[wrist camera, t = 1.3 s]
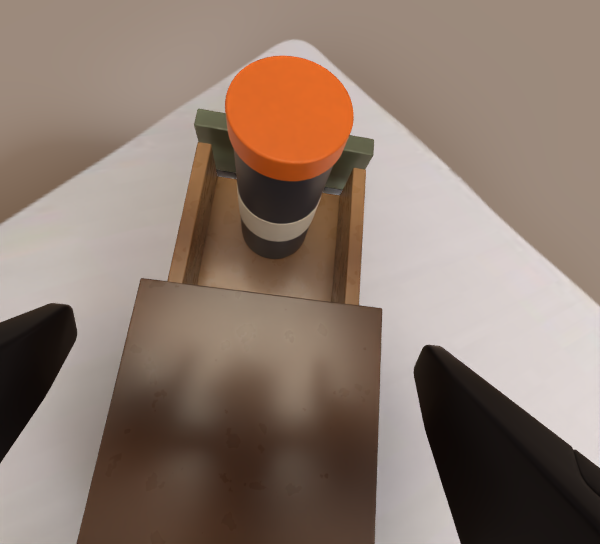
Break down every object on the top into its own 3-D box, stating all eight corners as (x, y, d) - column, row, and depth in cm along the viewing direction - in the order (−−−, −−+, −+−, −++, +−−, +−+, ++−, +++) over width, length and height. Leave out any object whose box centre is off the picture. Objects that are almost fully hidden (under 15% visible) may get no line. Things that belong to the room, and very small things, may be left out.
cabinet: (170, 300, 22) (140, 277, 16) (350, 322, 23) (382, 308, 17) (118, 547, 18) (54, 632, 12) (336, 558, 19) (371, 641, 13)
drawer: (216, 110, 25) (208, 57, 21) (356, 134, 26) (376, 89, 22) (171, 331, 20) (148, 322, 16) (343, 350, 22) (364, 347, 17)
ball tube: (321, 236, 22) (379, 122, 12) (268, 275, 21) (280, 187, 11) (279, 186, 23) (300, 36, 12) (225, 221, 22) (198, 89, 11)
